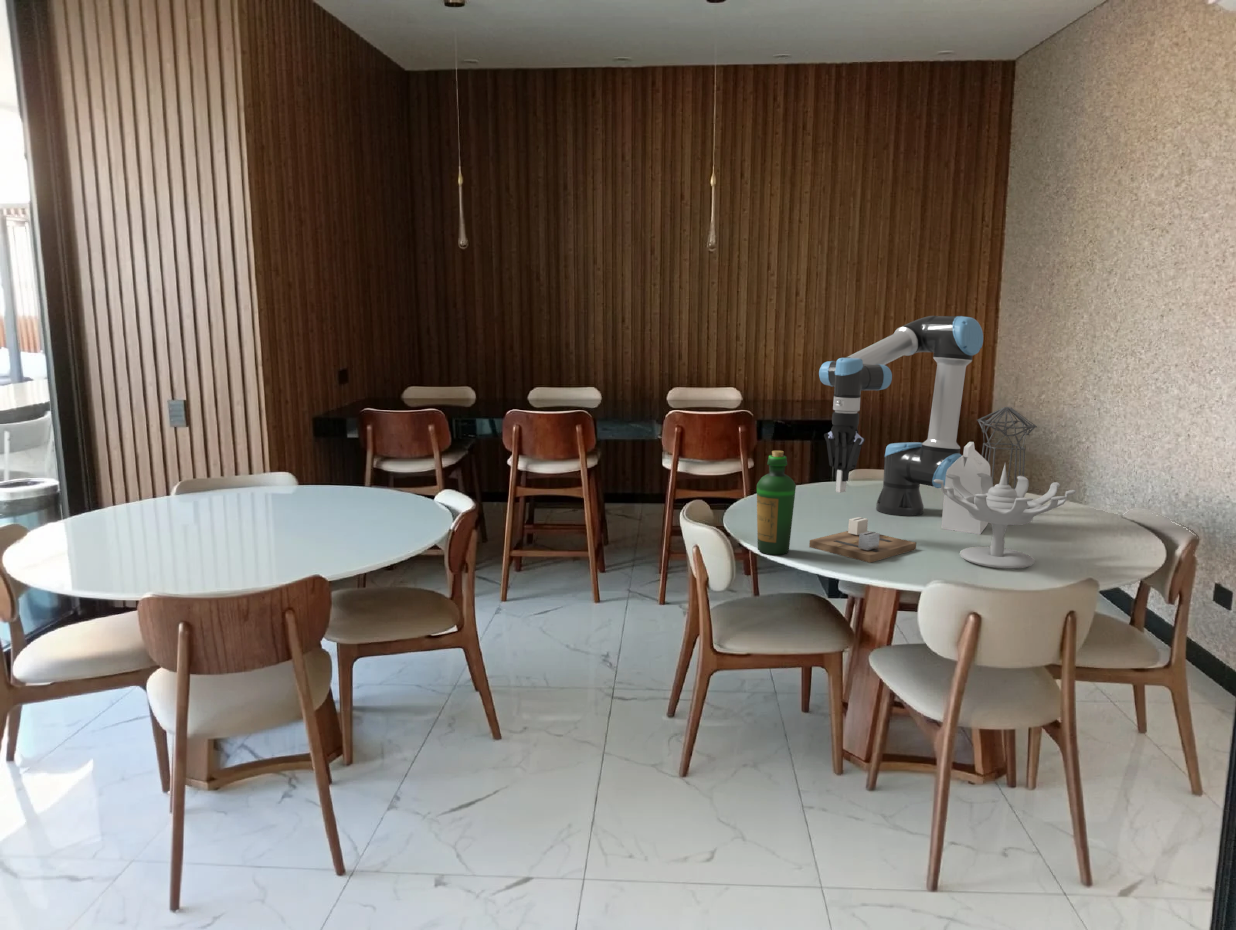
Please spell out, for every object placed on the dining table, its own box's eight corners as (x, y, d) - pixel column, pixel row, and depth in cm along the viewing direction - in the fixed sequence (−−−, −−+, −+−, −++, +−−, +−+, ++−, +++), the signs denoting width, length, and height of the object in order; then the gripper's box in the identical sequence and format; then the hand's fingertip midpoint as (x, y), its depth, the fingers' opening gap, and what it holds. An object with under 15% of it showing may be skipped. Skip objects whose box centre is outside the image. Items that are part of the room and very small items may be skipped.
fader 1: (848, 532, 264) (848, 519, 263) (858, 530, 267) (859, 516, 267) (856, 534, 262) (857, 521, 261) (867, 532, 265) (868, 518, 264)
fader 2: (858, 548, 247) (859, 533, 247) (869, 545, 251) (870, 530, 250) (867, 550, 245) (868, 535, 244) (878, 547, 248) (879, 532, 248)
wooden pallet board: (809, 546, 257) (809, 539, 257) (855, 535, 271) (856, 528, 271) (869, 562, 242) (870, 555, 242) (915, 549, 256) (916, 542, 256)
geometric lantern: (968, 503, 318) (976, 403, 312) (1014, 505, 317) (1024, 405, 311) (981, 513, 303) (990, 408, 297) (1030, 515, 301) (1040, 410, 295)
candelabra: (913, 565, 241) (921, 463, 236) (947, 538, 269) (955, 447, 265) (1054, 588, 222) (1066, 479, 217) (1075, 557, 251) (1085, 459, 246)
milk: (952, 515, 291) (954, 437, 283) (990, 520, 284) (994, 441, 276) (941, 528, 281) (943, 448, 273) (980, 534, 275) (983, 452, 267)
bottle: (751, 546, 257) (755, 448, 252) (789, 546, 257) (794, 448, 252) (756, 556, 247) (760, 454, 242) (795, 557, 246) (800, 455, 242)
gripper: (819, 410, 266) (814, 489, 270) (857, 414, 256) (851, 496, 260) (835, 408, 271) (830, 486, 275) (872, 413, 261) (867, 494, 265)
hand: (840, 491), depth 267 cm, fingers closed
